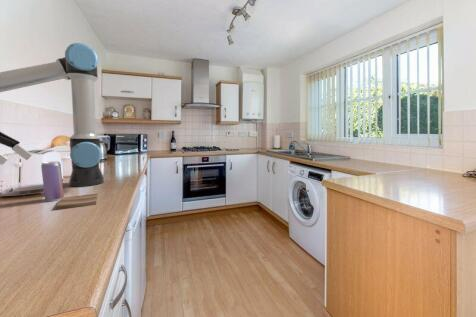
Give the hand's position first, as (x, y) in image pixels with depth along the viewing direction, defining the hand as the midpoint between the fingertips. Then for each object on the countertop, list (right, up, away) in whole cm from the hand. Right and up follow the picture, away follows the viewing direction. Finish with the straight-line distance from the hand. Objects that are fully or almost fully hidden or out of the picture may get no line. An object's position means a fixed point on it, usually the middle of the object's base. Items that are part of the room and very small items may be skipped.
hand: (18, 159), depth 89 cm
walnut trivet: (+23, -16, 0) cm, 28 cm away
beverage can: (+11, -16, +4) cm, 20 cm away
